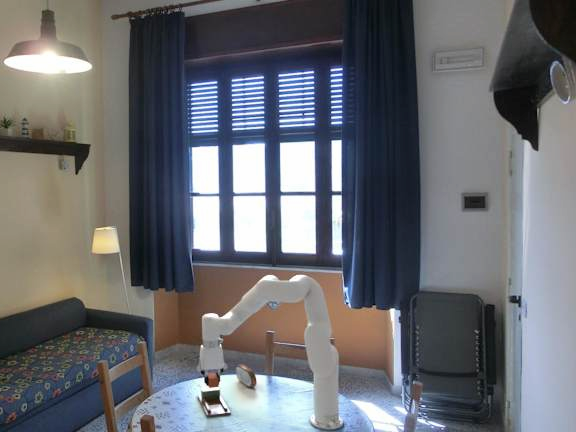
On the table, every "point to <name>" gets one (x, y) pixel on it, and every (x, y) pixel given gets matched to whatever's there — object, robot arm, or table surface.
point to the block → (212, 380)
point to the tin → (246, 375)
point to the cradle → (213, 402)
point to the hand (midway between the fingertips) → (212, 383)
